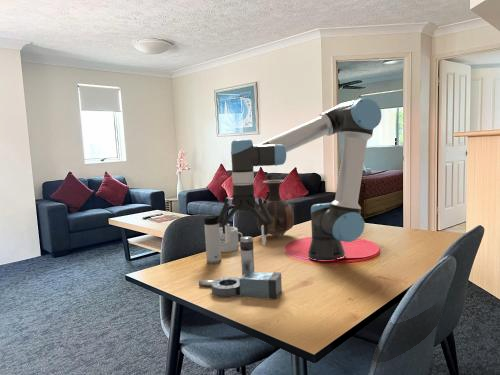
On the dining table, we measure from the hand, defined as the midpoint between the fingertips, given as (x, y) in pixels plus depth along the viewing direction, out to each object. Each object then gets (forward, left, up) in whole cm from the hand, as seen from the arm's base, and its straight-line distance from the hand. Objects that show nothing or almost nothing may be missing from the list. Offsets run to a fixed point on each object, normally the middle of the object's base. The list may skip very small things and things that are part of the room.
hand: (245, 243), depth 134 cm
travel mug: (+22, -20, -14) cm, 33 cm away
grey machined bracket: (+1, +10, -14) cm, 17 cm away
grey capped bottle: (0, 0, -14) cm, 14 cm away
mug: (+22, -39, -14) cm, 47 cm away
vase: (+6, -65, -14) cm, 67 cm away
